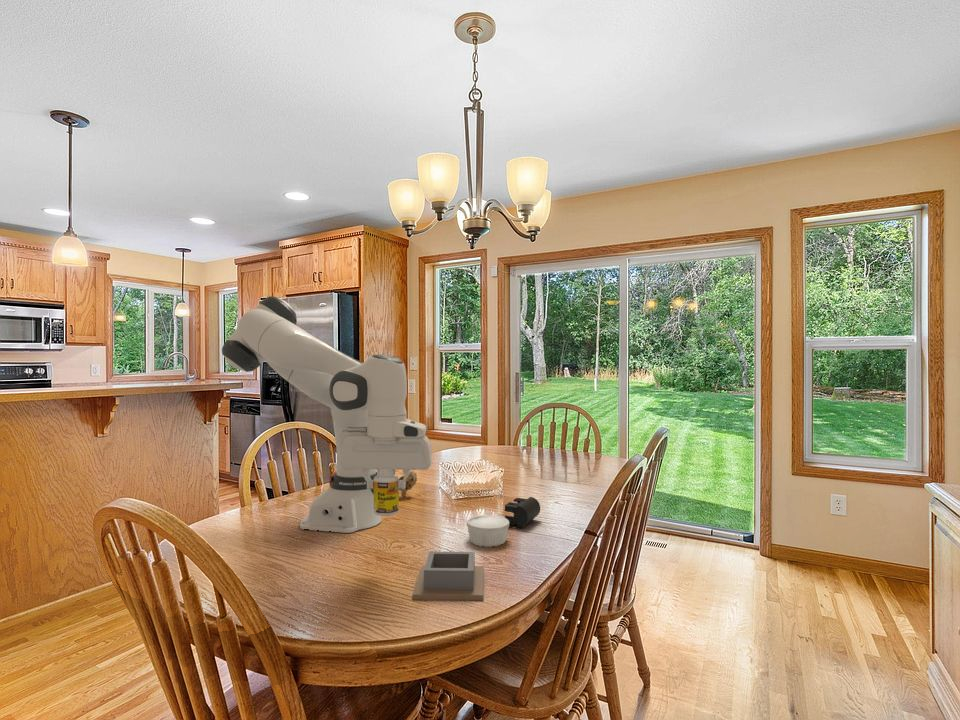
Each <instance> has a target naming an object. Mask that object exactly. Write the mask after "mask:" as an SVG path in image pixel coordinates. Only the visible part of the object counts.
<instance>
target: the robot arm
mask: <svg viewBox="0 0 960 720" xmlns="http://www.w3.org/2000/svg"><path fill="white" fill-rule="evenodd" d="M297 322H298V319H297V314H296V312H295V310H294V308H293V307H292V306H291V305H290V303H288V302H287V301H285V300H284V299H282V298H279V297H276V296H271V295H269V296H267V297H265V298H264V299H262V300H261V301H260V302H259V304H258V305H257V306H256V307H254V308H253V309H250V310H248V311H246V312H245V313H244V314H243V315H242V316H241V318H240V319H239V320H238V325H237V327H236V328H235V330H234V331H233V332H232V334H231V335H230V337H229V338H228V339H226V340H225V342H224V344H223V346H222V348H221V353H222V355H223V357H224V359H225V361H226V362H227V363H228V364H229V365H230V366H231V367H232V368H234V369H236V370H238V371H244V372H246V373H248V372H249V373H250V372H253V371H255V370H257V369H258V368H259V367H260V366H261V365H262V363H263V362H264V361H265V362H266V363H267V364H268V366H269V367H270V368H271V369H273V370H274V371H275V372H276V374H278V375H279V376H280V377H281V378H283V380H285V381H286V382H288V383H290V384H291V385H292V386H294V388H296V389H297V390H299V391H300V392H302V393H303V394H304V395H306V396H307V397H309V398H310V399H311V400H315V401H317V402H318V403H321V404H323V405H325V406H326V407H328V408H330V413H331V417H332V423H333V424H332V425H333V430H334V431H333V432H334V437H335V445H336V446H335V448H336V471H334V472H333V473H332V474H331V476H330V477H329V478H328V484H329V486H330V487H328V488H327V489H326V490H325V491H323V492H322V493H321V494H319V495H318V496H317V497H316V498H315V499H314V500H313V501H312V502H311V504H310V507H309V510H308V514H307V515H306V516H304V518H302V519H301V521H300V524H299V528H300V529H301V530H304V529H309V530H308V531H317V530H319V531H321V532H329V531H331V532H333V533H342V534H343V533H344V534H347V533H348V534H349V533H354V532H357V531H360V530H364V529H369V528H372V527H376V526H377V525H379V524H381V522H382V516H379V515H376V514H375V513H374V477H375V476H377V469H395V470H402V475H405V474H406V475H405V477H404V478H403V480H399V481H398V489H405V485H406V479H407V478H408V476H409V474H410V472H411V471H413V470H415V471H417V470H419V471H427V470H429V469H430V467H432V461H433V458H432V448H431V442H430V439H429V437H428V436H427V435H426V433H427V426H426V424H424V423H421V422H419V421H415V420H412V419H410V418H408V415H407V413H408V412H407V409H406V400H407V396H408V395H407V393H408V391H407V390H408V386H407V385H408V382H407V381H408V378H407V370H406V366H405V363H404V361H403V360H402V359H401V358H399V357H397V356H393V355H387V354H373V355H370V356H369V357H368V358H367V360H365V361H363V362H362V361H360V360H358V359H355V358H354V357H352V356H350V355H348V354H346V353H344V352H342V351H340V350H339V349H337V348H334V347H332V346H331V345H329V344H327V343H325V342H323V341H322V340H320V339H318V338H317V337H315V336H314V335H312V334H310V333H309V332H307V331H306V330H305V329H303V328H301V327H300V326H298V325H297V324H298V323H297ZM319 531H318V532H319ZM331 532H330V533H331Z"/></svg>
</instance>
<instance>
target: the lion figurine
mask: <svg viewBox="0 0 960 720" xmlns="http://www.w3.org/2000/svg"><path fill="white" fill-rule="evenodd" d="M405 475H406V474H403V475H402V476H401V477H398V478H399V480H403V478H404V477H405ZM417 482H418V477H417V472H415V471H413V470H411V472H410V474H409V476H408V478H407V479H406V485H405V489H399V492H401V498H403V500H404V501H407V500H408V497H407V496H406V495H407V491H409V490H410V491H411V490H412V489H413V487H414V486H415V485H416V484H417Z"/></svg>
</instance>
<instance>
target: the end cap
mask: <svg viewBox="0 0 960 720" xmlns="http://www.w3.org/2000/svg"><path fill="white" fill-rule="evenodd" d="M504 512H507V513H513V516H511V515H504V518H506V519H508V520H509V526H510V527H509V528H512V527H516V528H515V529H518V528H519V529H521V528H523V527H524V526H526V525H527V524H529V523H530V522H531V521H533V520H534V519H535V518H536V517H538V516H539V514H540V512H541V504H540V502H539V501H538V500H537V498H535V497H534V496H530V497H528V498H523V497H516V498H514V499H513V502H509V501H508V502H507V503H506V504H505V505H504Z"/></svg>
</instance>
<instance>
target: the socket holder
mask: <svg viewBox="0 0 960 720" xmlns="http://www.w3.org/2000/svg"><path fill="white" fill-rule="evenodd" d="M475 556H476V555H475V551H429V552H428V555H427V558H426V561H425V564H424V565H421V566H420V569H419V573H418V575H417V579H416V581H415V585H414V587H413V588H414V589H413V591H412V595H411V596H412V600H414V601H417V600H418V601H423V600H424V601H425V600H427V601H429V600H431V601H484V584H485V583H484V580H485V579H484V577H485V576H484V575H485V573H484V572H485V571H484V570H485V567H484V566H483V565H482V566H480V565H479V566H478V565H477V566H476V565H475V561H476V560H475V558H476V557H475Z"/></svg>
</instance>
